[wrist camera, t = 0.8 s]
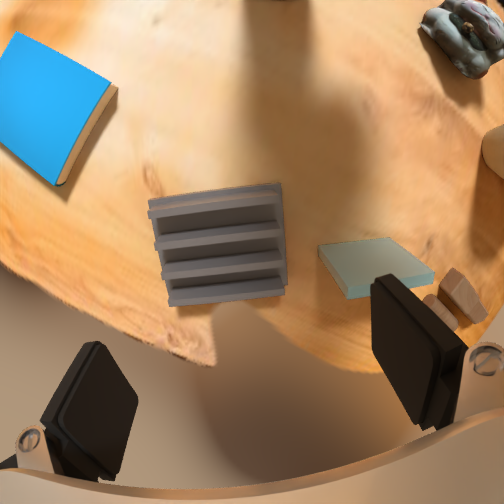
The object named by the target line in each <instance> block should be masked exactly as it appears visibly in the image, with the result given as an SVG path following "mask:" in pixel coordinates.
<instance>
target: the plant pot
mask: <svg viewBox="0 0 504 504" xmlns="http://www.w3.org/2000/svg"><path fill="white" fill-rule="evenodd" d="M482 153H483V158H484V161H485V163H486V164H487V166H488V167H489V168H490V169H492V170H493V171H494V172H495V173H496V174H498V175H499V176H500V177H501V178H503V179H504V124H503V125H501V126H499V127H496V128H494V129H492V130H490V131H488V132H487V133H486V134H485V136H484V138H483V142H482Z"/></svg>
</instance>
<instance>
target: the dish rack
mask: <svg viewBox="0 0 504 504" xmlns="http://www.w3.org/2000/svg"><path fill="white" fill-rule="evenodd" d="M148 204H149V209H150V210H148V211H147V212H148V218H149V219H151V220H152V225H153V230H154V235H155V239H156V241H155V243H154V246H155V251H158V253H159V258H160V262H161V266H162V272H161V276H162V280H165V283H166V287H167V291H168V295H169V299H168V304H169V307H174V306H186V305H197V304H208V303H218V302H228V301H238V300H247V299H256V298H264V297H273V296H281V295H285V289H284V285H288V281H287V263H286V247H285V232H284V217H283V204H282V191H281V183H269V184H259V185H250V186H241V187H232V188H224V189H216V190H208V191H200V192H193V193H186V194H179V195H173V196H166V197H160V198H154V199H149V200H148Z"/></svg>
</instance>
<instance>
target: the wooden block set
mask: <svg viewBox="0 0 504 504" xmlns="http://www.w3.org/2000/svg"><path fill="white" fill-rule="evenodd" d="M439 287H440V288H441V289H442V290H443V291H444V293H445V294H446V295H447V296H448V297H449V298H450V299H451V300H452V302H453V303H454V304H455V305H456V306H457V307H458V308H459V309H460V310H461V311H462V312H463V313H464V315H465V316H466V317H467V318H468V319H469V320H470V321H471V322H472V323H474V324H477V323H479V322H482V321H484V320H485V318H486V317H487V316H488V311H487V310H486V308H485V307H484V305H483V304H482V302H481V301H480V299H479V296H478V294H477V293H476V291H475V290H474V288H473V287H472V286H471V284H470V283H469V281H468V280H467V279H466V277H465V276H464V275H462V274H461V273H460V272H458V271H457V270H456V269H454V268H451V269H450V271H449V272H448V273H447V275H446V276H445V277H444V279H443V280H442V281H441V283H440V284H439ZM423 303H424V304H426V305H427V306H428V307H429V308H430V309H431V310H432V311H433V312H434V313H435V314H436V315H437V316H438V317H439V318H440V319H441V320H442V321H443V322H444V323H445V324H446V325H447V326H448V327H449V328H450V329H451V330H452V331H453V332H454V331H455V330H456V329H457V327H458V320H457V319H456V318H455V317H454V315H453V314H452V313H451V312H450V311H449V310H448V309H447V308H446V307H445V306H444V305H443V304H442V303H441V301H440V300H439V299H438V298H437V297H436V296H435V295H433V294H429V295H427V296H426V297H425V298H424V299H423Z"/></svg>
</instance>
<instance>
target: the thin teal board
mask: <svg viewBox="0 0 504 504" xmlns="http://www.w3.org/2000/svg"><path fill="white" fill-rule="evenodd" d="M318 256H319V257H320V259H321V260H322V262H323V263H324V265H325V266H326V268H327V269H328V271H329V272H330V274H331V275H332V277H333V278H334V280H335V282H336V283H337V285H338V286H339V288H340V289H341V291H342V292H343V294H344V295H345V297H346V299H347V300H349V299H355V298H361V297H367V296H370V285H371V284H372V283H374V280H375V278H376V277H380V276H383V275H386V274H389V273H392V274H393V275H394V276H395V277H397V278H398V279H399V280H400V281H401V282H402V283H403V284H404V285H405V286H406V287H407V288H408V289H409V288H414V287H419V286H424V285H429V284H433V280H434V274H435V272H434V271H433V270H432V269H430V268H429V267H428V266H426V265H425V264H424V263H423V262H421V261H420V260H419V259H418V258H416V257H415V256H414V255H412V254H411V253H410V252H408V251H407V250H406V249H404V248H403V247H402V246H400V245H399V244H398V243H396V242H395V241H394V240H392V239H391V238H389V237H387V238H379V239H370V240H361V241H352V242H344V243H335V244H326V245H318Z"/></svg>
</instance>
